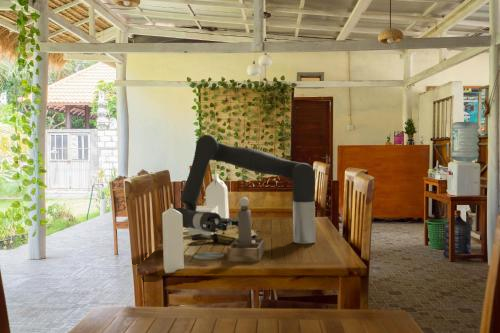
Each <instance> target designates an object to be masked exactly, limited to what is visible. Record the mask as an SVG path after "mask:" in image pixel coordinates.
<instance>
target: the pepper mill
mask: <svg viewBox="0 0 500 333" xmlns="http://www.w3.org/2000/svg"><path fill="white" fill-rule="evenodd" d="M238 200H239V201H238V204H239V206H240V209H238V210H237V219H238V227H237V229H238V240H239V248H252V241H251V229H252V210H251V209H249V208H248V206H249V204H250V199H249V198H248V197H246V196H242V197H240V199H238Z"/></svg>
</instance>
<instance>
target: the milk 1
mask: <svg viewBox="0 0 500 333" xmlns="http://www.w3.org/2000/svg"><path fill="white" fill-rule="evenodd" d="M161 216H162V218H161V219H162V246H163V247H162V250H163V251H162V252H163V270H164V272H165V274H171V273H175V272H176V271H178V270H183V269H185V266H184V264H185V261H184V259H185V258H184V257H185V256H184V227H183V219H182V214H181V213H180V212H179V211H177V210H175V208H174V204H173V203H170V207H169V208H168V209H167V210H164V212H162V214H161Z"/></svg>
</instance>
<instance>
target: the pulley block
mask: <svg viewBox="0 0 500 333" xmlns="http://www.w3.org/2000/svg"><path fill="white" fill-rule="evenodd" d="M258 233H261V230H256V229H255V228H251V238H258ZM236 238H238V228H230V229H229V228H228V229H227V230H218V231H217V232H213V234H196V235H193V236H191V241H195V242H196V241H197V242H198V241H199V242H201V241H202V242H203V241H209V240H210V241H213V243H215V244H225V245H231V244H232V242H233V241H234V240H235V239H236Z"/></svg>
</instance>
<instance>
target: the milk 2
mask: <svg viewBox="0 0 500 333" xmlns="http://www.w3.org/2000/svg"><path fill="white" fill-rule="evenodd" d="M213 176H214V178H213V180H212V181H211V182H210V183H209V184H208V185H207V187H206V188H205V206H218V214H219V215H220V217H221V218H230V210H229V192H228V191H229V190H228V186H227V184H226V183H225V182H224V180H222V179H220V176H219V173H216V174H214V175H213Z"/></svg>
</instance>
